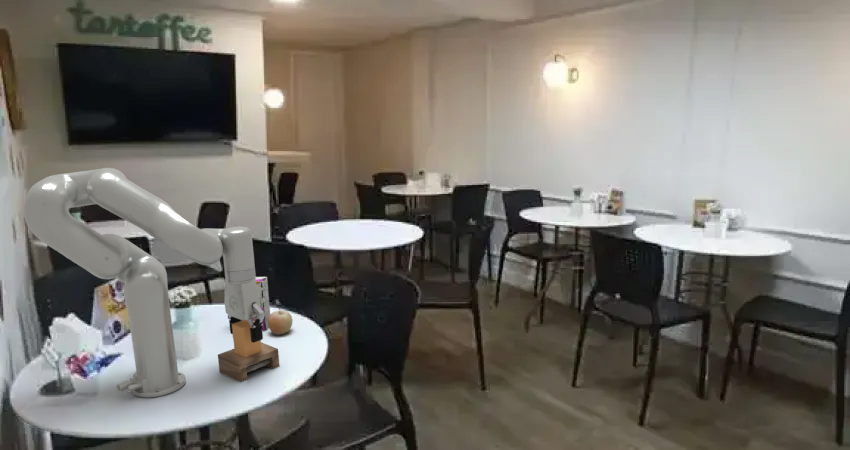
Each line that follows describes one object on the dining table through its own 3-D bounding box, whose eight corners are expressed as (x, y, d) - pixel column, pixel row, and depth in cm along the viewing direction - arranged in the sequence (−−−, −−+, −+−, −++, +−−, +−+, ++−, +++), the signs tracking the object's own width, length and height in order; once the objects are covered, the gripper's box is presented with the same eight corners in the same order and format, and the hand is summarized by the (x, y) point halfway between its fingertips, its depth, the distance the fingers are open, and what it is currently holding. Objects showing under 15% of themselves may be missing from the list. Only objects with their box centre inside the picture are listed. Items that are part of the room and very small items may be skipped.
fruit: (271, 329, 193) (269, 304, 191) (294, 327, 193) (292, 303, 191) (266, 338, 185) (264, 313, 183) (291, 336, 185) (288, 311, 184)
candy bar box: (232, 330, 192) (226, 280, 189) (238, 325, 197) (233, 276, 194) (266, 331, 191) (261, 280, 188) (272, 325, 196) (267, 275, 192)
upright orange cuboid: (245, 357, 159) (242, 328, 158) (234, 352, 163) (231, 324, 161) (261, 350, 163) (259, 322, 161) (250, 346, 166) (248, 318, 165)
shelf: (240, 382, 156) (238, 364, 155) (219, 372, 163) (217, 354, 162) (279, 366, 165) (278, 348, 164) (258, 357, 172) (256, 340, 170)
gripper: (209, 272, 161) (216, 333, 165) (246, 283, 150) (253, 349, 154) (234, 266, 167) (240, 325, 170) (272, 276, 156) (277, 339, 159)
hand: (246, 336), depth 162 cm, fingers open, 9 cm apart
